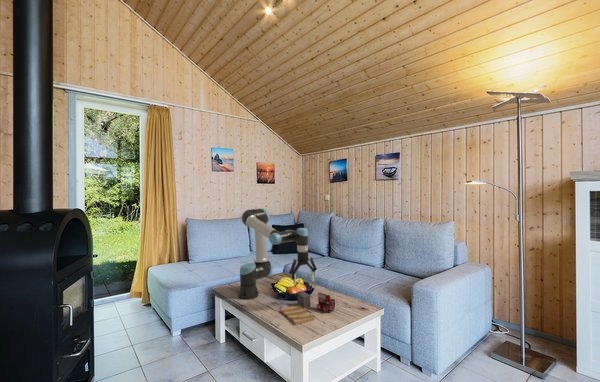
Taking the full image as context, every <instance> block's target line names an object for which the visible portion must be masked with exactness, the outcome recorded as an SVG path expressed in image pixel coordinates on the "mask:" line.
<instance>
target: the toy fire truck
mask: <svg viewBox="0 0 600 382" xmlns="http://www.w3.org/2000/svg"><path fill="white" fill-rule="evenodd" d="M317 297H318V298H317V299H318V303H317V304H316V309H317V310H318V311H322V312H323V313H329V311H333V310H334V308H335V307H334V306H335V305H334V301H333V298H331V294H327V293H323V292H320V291H319V292H318V293H317Z"/></svg>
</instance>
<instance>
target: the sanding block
mask: <svg viewBox="0 0 600 382" xmlns="http://www.w3.org/2000/svg"><path fill="white" fill-rule="evenodd" d="M297 305H299V306H300V307H302V308H303V309H304V310H306V309H310V308H311V295H310V294H308V293H307V292H305V291H300V292H299V291H298V292H297Z"/></svg>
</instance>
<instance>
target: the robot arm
mask: <svg viewBox="0 0 600 382" xmlns="http://www.w3.org/2000/svg"><path fill="white" fill-rule="evenodd" d="M270 219H271V217H270V214H269V212H268V210H267V209H265V208H253V209H252V208H251V209H246V210H245V211H244V212H243V213H242V215H241V221H242V224H243V225H244V226H246V227H248V228H252V229H253V230H254V245H255V248H254V249H255V259H254V262H249V263H248V262H247V263H244V264H242V265H241V266H240V268H239V278H240V279H239V282H240V283H239V284H240V286H239V291H238V294H237V297H238V298H239V299H241V300H252V299H256V298H257V297H259V294H260V293H259V289H258V287H257V281H258V280H259V279H264V278H267V277H270V276H271V274H272V273H273V270H274V267H273V263H272V262H271V261H270V259H269V258H268V251H267V250H268V249H267V239H269V242H270V244H271V245H281V244H284V243H291V242H296V247H297V248H296V250H297V253H296V254H297V257H296V259H295V258H294V259H293V260H292V264H291V266H290V269H289V274H290V275H291V279H292V282H293V283H292V284H293V285H295V286H296V285H297V274H296V273H297V272H298V270H299V268H300V267H301V266H306V265H307V267H308V269H310V281H312V282H314V281H315V279H314V276H315V272H316V271H317V270H318V267H317V266H316V264H315V262H314V260H313V256H309V233H308V231H309V230H308V228H306V227H299V228H296V230H293V229H286V230H284V231H278V230H277V229H275V228H273V227H272V226H270V225H269V224H268V222H269V221H270ZM309 262H310V263H309Z"/></svg>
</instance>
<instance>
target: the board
mask: <svg viewBox="0 0 600 382" xmlns="http://www.w3.org/2000/svg"><path fill="white" fill-rule="evenodd" d="M280 312H281V313H282V315H284V316H285V317H286V318H287V319H288V320H290V322H292V323H293V324H294V325H295V326H297V325H301V324H304V323H308V322H312V321H315V320H316V318H315V316H313V315H312V314H311V313H310V312H308V311H307V310H306V309H303V308H302V307H301V306H299V305H298V304H296V305H293V306H288V307H284V308H280Z"/></svg>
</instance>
